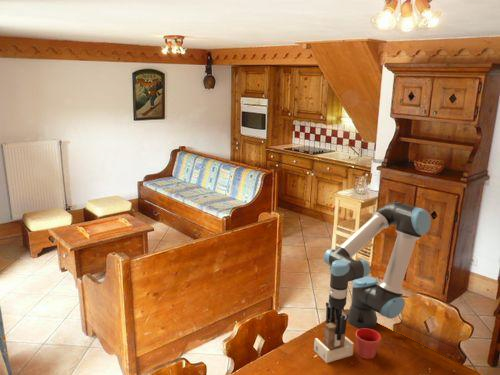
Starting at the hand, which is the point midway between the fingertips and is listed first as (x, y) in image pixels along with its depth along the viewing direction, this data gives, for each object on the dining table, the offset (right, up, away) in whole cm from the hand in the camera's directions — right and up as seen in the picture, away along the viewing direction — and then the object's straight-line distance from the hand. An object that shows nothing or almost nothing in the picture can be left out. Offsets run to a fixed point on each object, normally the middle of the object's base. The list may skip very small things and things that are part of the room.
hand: (334, 342), depth 195 cm
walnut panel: (0, -3, +1) cm, 3 cm away
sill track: (0, -5, +1) cm, 5 cm away
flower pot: (+15, -6, +1) cm, 16 cm away
